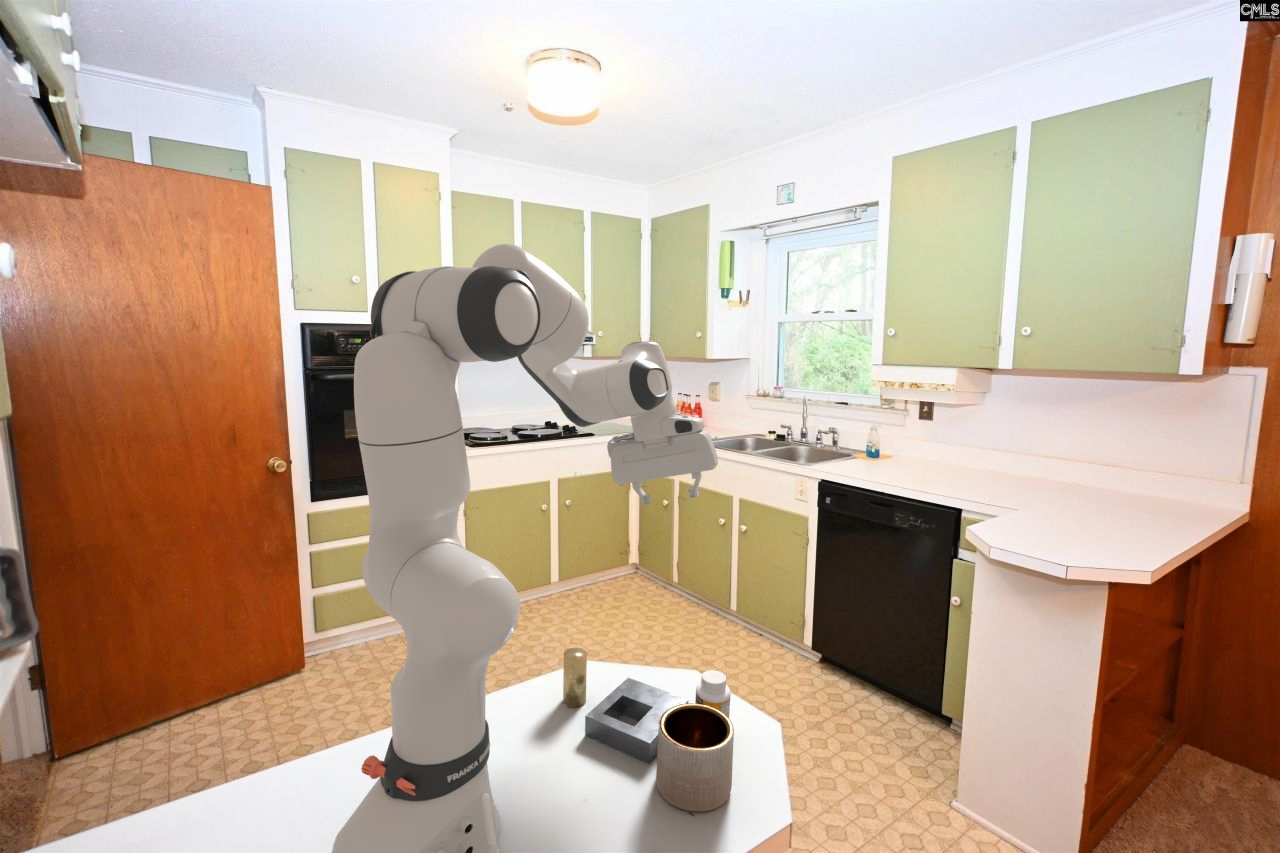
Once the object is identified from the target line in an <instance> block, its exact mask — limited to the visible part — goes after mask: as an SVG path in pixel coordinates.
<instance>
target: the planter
mask: <svg viewBox="0 0 1280 853" xmlns="http://www.w3.org/2000/svg"><path fill="white" fill-rule="evenodd" d="M734 734H735V729H734V725H733V723H732V721H731V719H730V717H729V718H728V717H727V716H726V715H725V714H724V713H722V712H721V711H719V710H717V709H715V708H713V707H710V706H707V705H703V704H695V702H694V703H691V702H690V703H689V702H688V704H681V705H677V706H674V707H672V708H670V709H668V710H667V711H665V712H664V713H663V714H662V716H661V718H660V720H659V729H658V751H657V756H656V768H655V769H656V772H655V778H656V779H655V782H656V787H657V790H658V792H659V793H660V795H661V796H662V798H663V799H664V800H666V801H667V802H668V803H669V804H671V805H672V806H674V807H676V808H678V809H681V810H683V811H687V812H694V813H697V812H698V813H700V812H701V813H703V812H708V811H711V810H715V809H717V808H718V807H721V805H723V804H724V803H726V801H727V800H728V798H729V797H730V795H731V790H732V786H733V785H732V784H733V762H734V761H733V759H734V757H733V755H734V740H735V738H734V737H735V735H734Z"/></svg>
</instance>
